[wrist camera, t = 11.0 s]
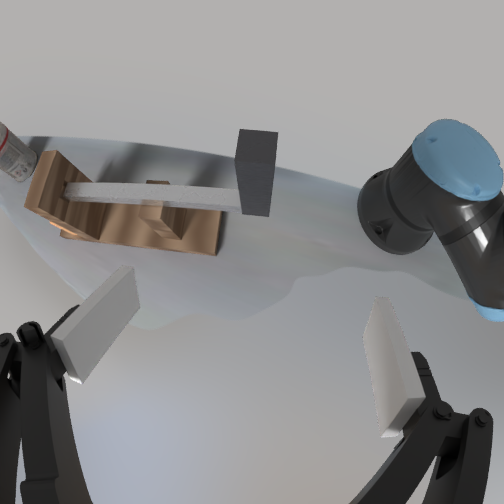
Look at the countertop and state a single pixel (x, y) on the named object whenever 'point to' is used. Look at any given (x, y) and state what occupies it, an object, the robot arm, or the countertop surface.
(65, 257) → the countertop surface
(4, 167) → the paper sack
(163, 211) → the rail base
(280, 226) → the countertop surface
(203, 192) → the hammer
